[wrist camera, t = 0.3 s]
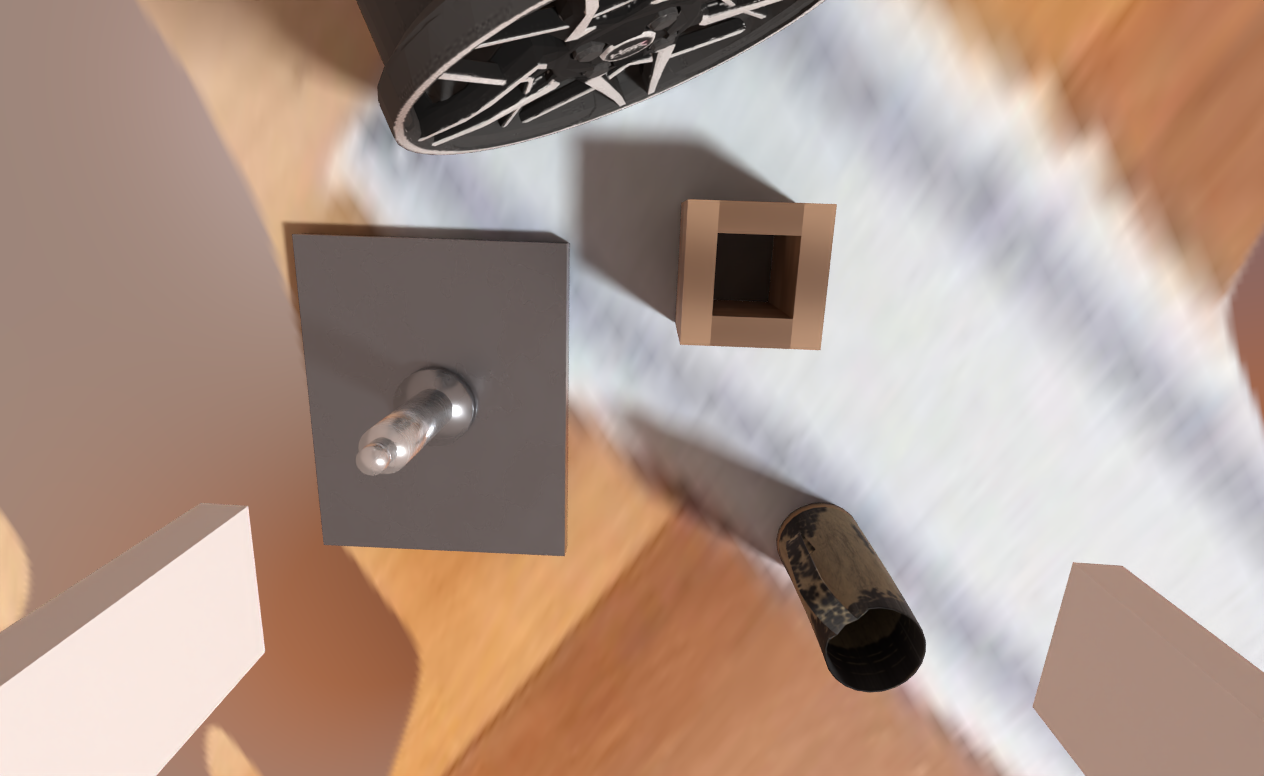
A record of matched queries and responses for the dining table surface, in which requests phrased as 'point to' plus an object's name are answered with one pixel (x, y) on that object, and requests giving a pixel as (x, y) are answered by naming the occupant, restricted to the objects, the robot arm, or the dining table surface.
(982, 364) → the dining table surface
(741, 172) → the dining table surface
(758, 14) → the wheel rim
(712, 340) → the hollow wooden cube
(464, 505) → the shaft stand
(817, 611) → the mug
